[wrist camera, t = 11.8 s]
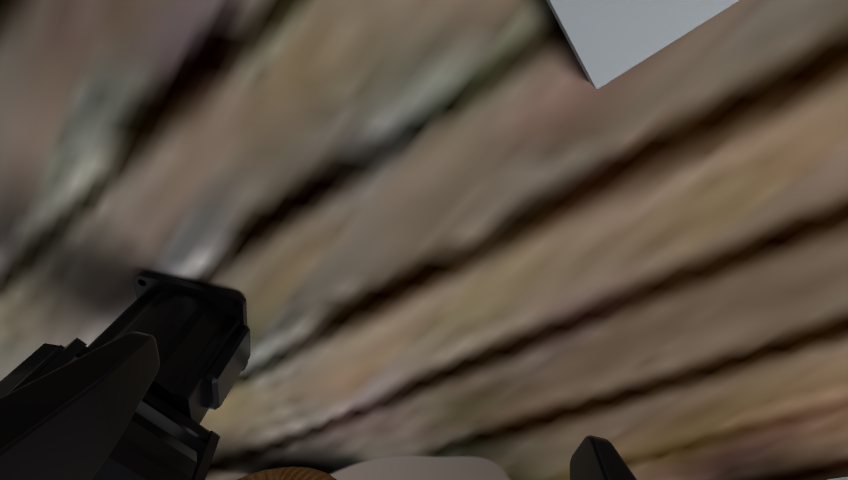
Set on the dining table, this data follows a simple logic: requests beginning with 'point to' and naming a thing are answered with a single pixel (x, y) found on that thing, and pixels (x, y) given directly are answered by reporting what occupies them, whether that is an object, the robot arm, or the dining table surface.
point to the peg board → (626, 30)
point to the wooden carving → (289, 474)
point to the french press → (843, 479)
